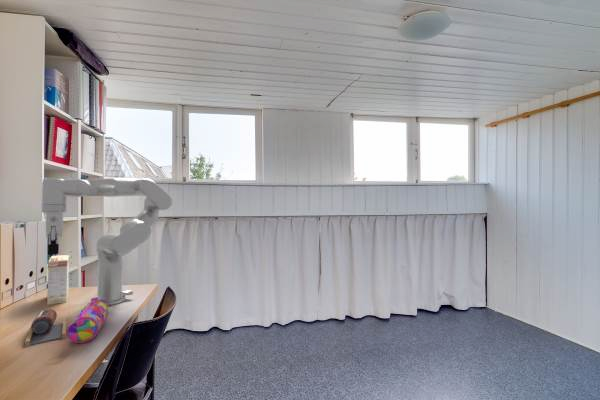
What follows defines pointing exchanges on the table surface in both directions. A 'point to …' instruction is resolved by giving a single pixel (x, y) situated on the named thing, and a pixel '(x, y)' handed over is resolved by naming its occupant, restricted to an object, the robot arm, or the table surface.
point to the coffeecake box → (58, 279)
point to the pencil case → (88, 321)
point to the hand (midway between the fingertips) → (53, 254)
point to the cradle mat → (47, 334)
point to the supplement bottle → (44, 321)
